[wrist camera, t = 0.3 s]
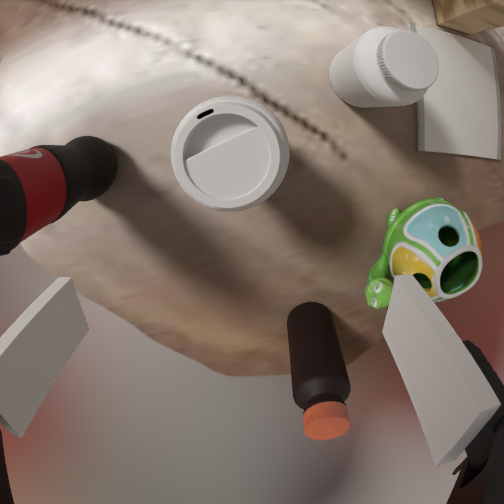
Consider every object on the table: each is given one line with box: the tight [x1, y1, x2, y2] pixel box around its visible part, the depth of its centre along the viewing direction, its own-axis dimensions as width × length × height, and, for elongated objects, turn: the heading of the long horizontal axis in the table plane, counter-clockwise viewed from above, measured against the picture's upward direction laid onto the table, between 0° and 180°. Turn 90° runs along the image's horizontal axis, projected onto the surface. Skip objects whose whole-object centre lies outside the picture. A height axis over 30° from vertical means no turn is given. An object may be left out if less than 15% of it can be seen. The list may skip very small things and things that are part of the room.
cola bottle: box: [0, 136, 117, 256], centre depth 23 cm, size 8×8×30 cm
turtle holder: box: [365, 197, 482, 310], centre depth 34 cm, size 12×18×12 cm
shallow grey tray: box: [408, 23, 501, 160], centre depth 29 cm, size 18×16×1 cm
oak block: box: [432, 0, 504, 35], centre depth 18 cm, size 6×6×14 cm
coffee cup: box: [171, 96, 290, 211], centre depth 28 cm, size 10×10×15 cm
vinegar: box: [287, 302, 350, 440], centre depth 36 cm, size 7×7×20 cm
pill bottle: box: [329, 27, 439, 108], centre depth 24 cm, size 8×8×15 cm
